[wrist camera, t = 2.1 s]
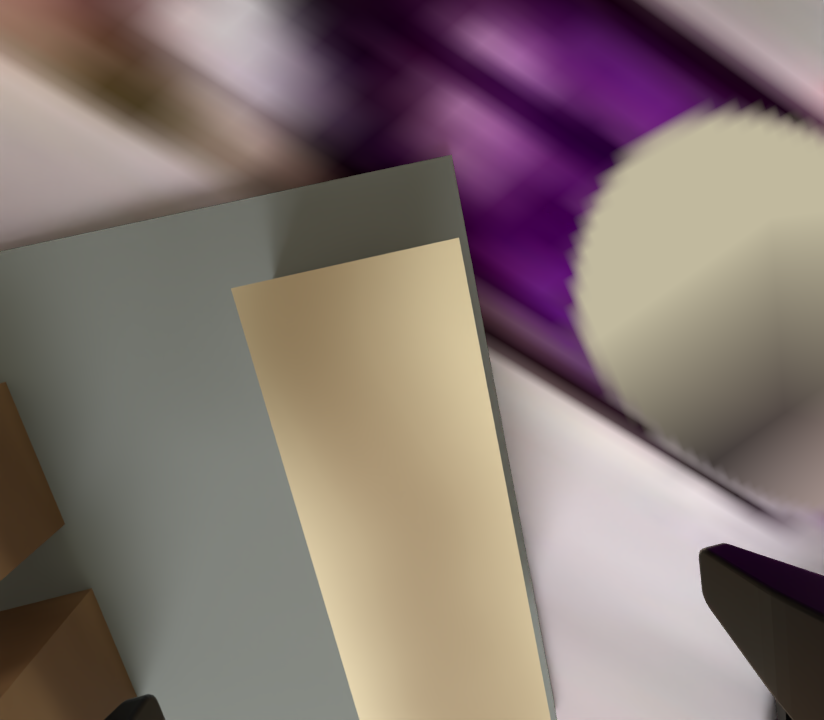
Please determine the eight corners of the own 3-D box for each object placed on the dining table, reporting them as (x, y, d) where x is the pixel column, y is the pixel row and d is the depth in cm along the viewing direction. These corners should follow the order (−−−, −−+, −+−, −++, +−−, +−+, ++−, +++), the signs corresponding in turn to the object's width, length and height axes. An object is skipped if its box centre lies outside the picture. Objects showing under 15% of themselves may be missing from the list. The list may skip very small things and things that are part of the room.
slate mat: (447, 158, 12) (451, 154, 12) (553, 716, 16) (559, 730, 16) (-374, 334, 11) (-407, 338, 11) (-53, 883, 15) (-67, 904, 15)
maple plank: (428, 245, 12) (458, 237, 8) (509, 636, 15) (560, 769, 11) (273, 279, 12) (230, 288, 8) (382, 670, 15) (388, 818, 11)
